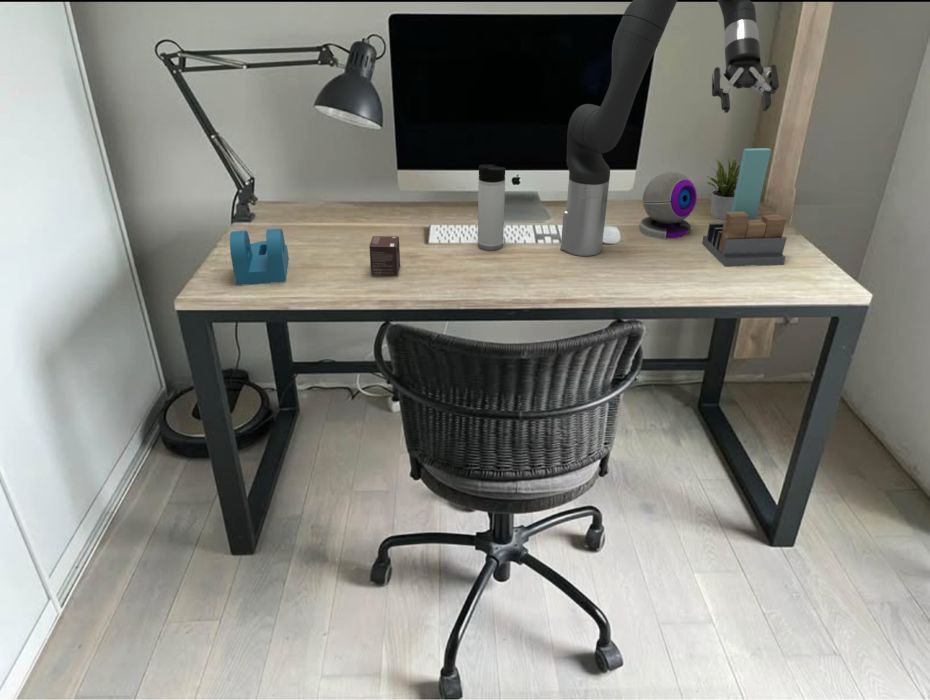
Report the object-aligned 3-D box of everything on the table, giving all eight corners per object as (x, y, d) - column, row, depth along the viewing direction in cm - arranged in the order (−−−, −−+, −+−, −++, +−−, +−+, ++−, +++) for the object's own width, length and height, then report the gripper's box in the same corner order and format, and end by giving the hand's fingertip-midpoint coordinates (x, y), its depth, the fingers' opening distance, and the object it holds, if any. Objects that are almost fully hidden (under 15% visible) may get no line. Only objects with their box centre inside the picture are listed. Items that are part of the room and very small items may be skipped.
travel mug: (471, 246, 168) (472, 164, 158) (489, 239, 172) (490, 159, 162) (490, 253, 164) (492, 170, 154) (508, 245, 168) (511, 164, 158)
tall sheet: (725, 240, 166) (744, 148, 155) (747, 239, 167) (768, 148, 155) (727, 242, 165) (747, 150, 154) (750, 242, 165) (771, 149, 154)
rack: (701, 243, 170) (706, 220, 167) (756, 242, 171) (762, 219, 168) (724, 266, 158) (729, 241, 155) (783, 264, 159) (789, 240, 156)
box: (374, 265, 158) (372, 235, 154) (400, 266, 158) (399, 236, 154) (370, 276, 153) (368, 245, 149) (397, 277, 153) (396, 246, 149)
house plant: (762, 215, 187) (775, 155, 179) (741, 229, 178) (755, 166, 170) (712, 204, 195) (723, 146, 187) (690, 216, 187) (700, 156, 178)
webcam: (664, 242, 170) (674, 183, 163) (628, 227, 180) (635, 170, 172) (700, 232, 176) (711, 174, 169) (663, 218, 186) (671, 162, 178)
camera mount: (286, 282, 150) (279, 237, 145) (236, 285, 149) (228, 240, 143) (289, 251, 166) (284, 209, 160) (245, 254, 164) (237, 211, 159)
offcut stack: (718, 249, 161) (726, 212, 157) (772, 247, 162) (781, 210, 158) (723, 253, 159) (731, 216, 154) (778, 252, 160) (787, 215, 155)
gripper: (714, 37, 157) (718, 102, 154) (779, 34, 156) (784, 99, 153) (706, 57, 164) (710, 120, 161) (768, 54, 163) (773, 117, 160)
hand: (746, 110), depth 157 cm, fingers open, 8 cm apart
